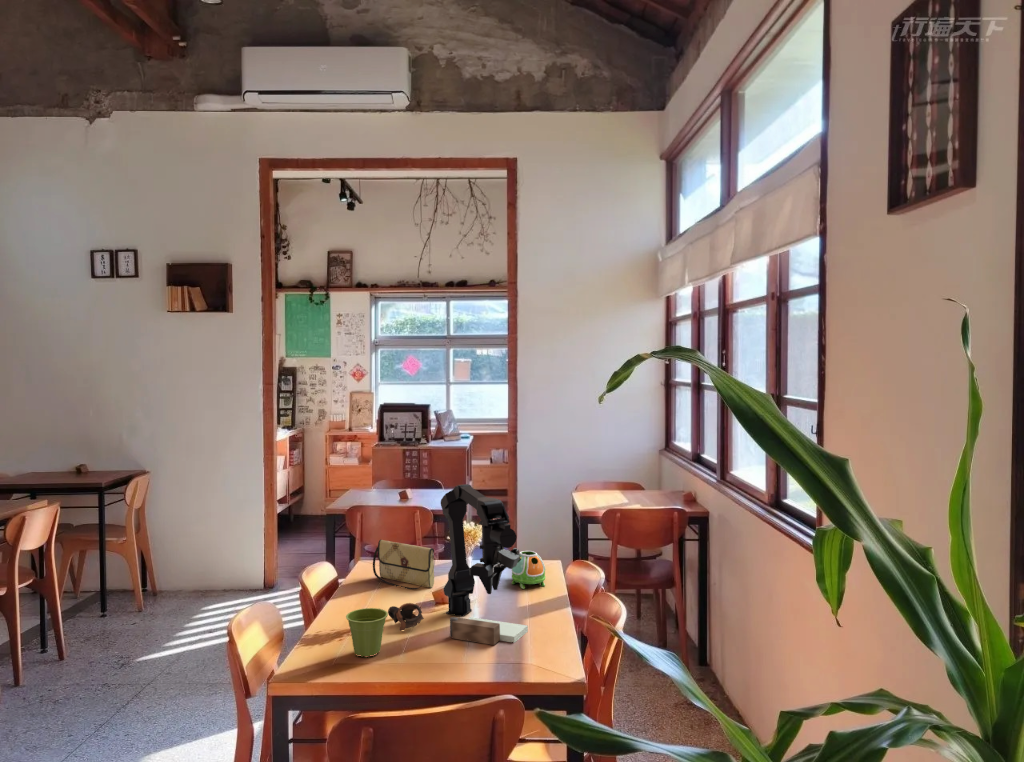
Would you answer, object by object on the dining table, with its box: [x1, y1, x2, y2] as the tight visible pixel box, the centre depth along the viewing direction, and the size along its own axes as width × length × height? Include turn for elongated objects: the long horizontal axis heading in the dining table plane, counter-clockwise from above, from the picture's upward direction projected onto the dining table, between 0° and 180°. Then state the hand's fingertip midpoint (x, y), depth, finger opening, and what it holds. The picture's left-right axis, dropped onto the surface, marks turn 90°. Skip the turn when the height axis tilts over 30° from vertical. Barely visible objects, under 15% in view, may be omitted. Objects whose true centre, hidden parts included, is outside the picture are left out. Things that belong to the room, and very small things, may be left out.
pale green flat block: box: [467, 616, 529, 644], centre depth 226 cm, size 20×10×2 cm, turn 65°
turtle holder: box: [511, 550, 546, 590], centre depth 276 cm, size 12×18×12 cm
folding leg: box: [449, 616, 501, 646], centre depth 220 cm, size 16×4×5 cm, turn 65°
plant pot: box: [345, 607, 389, 657], centre depth 211 cm, size 12×12×11 cm
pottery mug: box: [387, 602, 424, 631], centre depth 232 cm, size 12×10×8 cm
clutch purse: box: [372, 539, 436, 590], centre depth 277 cm, size 30×7×15 cm, turn 56°
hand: (492, 591), depth 224 cm, fingers open, 4 cm apart
